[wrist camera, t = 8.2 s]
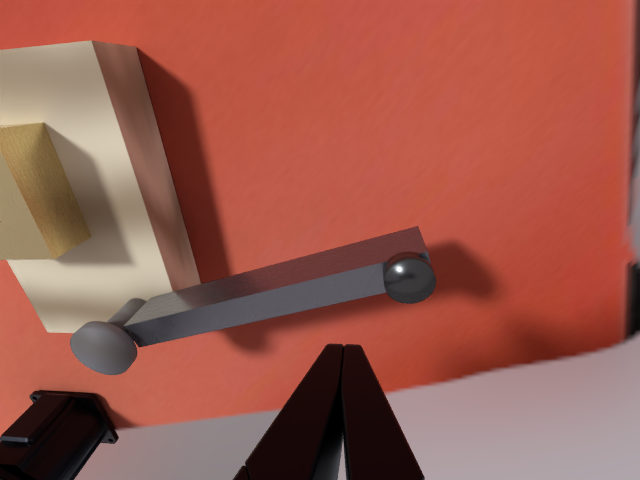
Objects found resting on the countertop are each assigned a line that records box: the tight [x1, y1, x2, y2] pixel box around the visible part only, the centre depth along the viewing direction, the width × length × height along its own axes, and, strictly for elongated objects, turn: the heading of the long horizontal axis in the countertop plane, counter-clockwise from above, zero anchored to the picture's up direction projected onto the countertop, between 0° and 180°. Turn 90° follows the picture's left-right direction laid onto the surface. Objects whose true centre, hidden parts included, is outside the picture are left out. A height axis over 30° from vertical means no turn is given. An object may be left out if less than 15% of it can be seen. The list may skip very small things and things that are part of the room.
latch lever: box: [123, 226, 436, 347], centre depth 16 cm, size 16×2×3 cm, turn 110°
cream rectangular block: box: [0, 41, 201, 375], centre depth 17 cm, size 16×10×6 cm, turn 4°
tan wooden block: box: [0, 122, 92, 260], centre depth 16 cm, size 6×4×2 cm
